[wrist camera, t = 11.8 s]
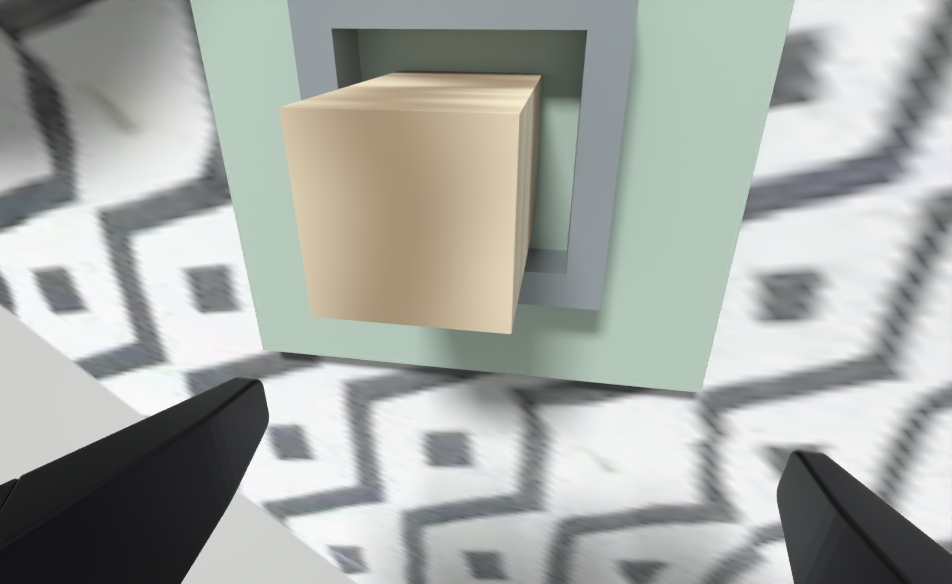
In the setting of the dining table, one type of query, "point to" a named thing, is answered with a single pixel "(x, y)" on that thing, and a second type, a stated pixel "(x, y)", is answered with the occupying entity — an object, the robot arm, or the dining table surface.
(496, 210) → the birch peg
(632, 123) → the socket board
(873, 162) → the dining table surface
